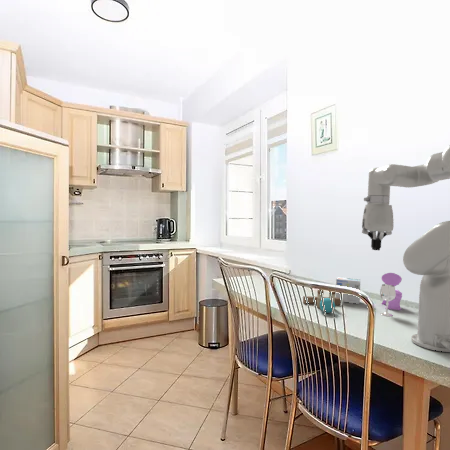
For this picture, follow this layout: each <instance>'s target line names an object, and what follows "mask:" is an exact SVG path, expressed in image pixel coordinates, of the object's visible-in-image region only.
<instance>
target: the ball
mask: <svg viewBox="0 0 450 450" xmlns="http://www.w3.org/2000/svg"><path fill="white" fill-rule="evenodd" d="M324 305H325V310H326V313H325V314H330V313H333V311H332V308H331V300H330V298H324ZM333 307H334V310H335V309H336V305H335V303H334V301H333ZM320 308H321V309H320V310H321V311H322V312H323V306H322V300H321V302H320Z"/></svg>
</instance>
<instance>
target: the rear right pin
mask: <svg viewBox="0 0 450 450" xmlns="http://www.w3.org/2000/svg"><path fill="white" fill-rule="evenodd" d="M328 297H329V298H330V293H329V292H328ZM335 297H336V291H335V292H332V298H333V301H334V303H335Z"/></svg>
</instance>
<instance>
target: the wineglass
mask: <svg viewBox="0 0 450 450" xmlns="http://www.w3.org/2000/svg"><path fill="white" fill-rule="evenodd" d="M395 290H396V286H393V285H387V284H385V283H383V284H381V286H380V289H379V296H380V298H381V299H382V301H383V300H385V301H387V302H386V306H385V308H386V309H385V312H381V313H380V315H381V316H384V317H393V314H392V313H389V312H388V310H389V309H388V304H389V303H388V301H392V300H394V299H395V296H396V292H395Z"/></svg>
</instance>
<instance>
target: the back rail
mask: <svg viewBox="0 0 450 450" xmlns="http://www.w3.org/2000/svg"><path fill="white" fill-rule="evenodd" d="M305 296H306V295H303V297H302V299H303V300H302V303H303V304H304V305H307V304H306V300H305ZM313 297H315V300H316V304H314V302H313ZM313 297H312V296H310V295H309V296H308V295H307V298H308V302H309V304H308V305H317V296H313ZM323 298H329V296H323ZM335 306H341V302H340V298H337V297H336V296H335Z"/></svg>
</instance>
